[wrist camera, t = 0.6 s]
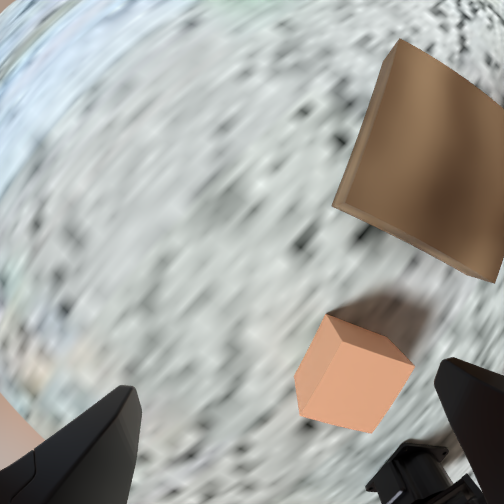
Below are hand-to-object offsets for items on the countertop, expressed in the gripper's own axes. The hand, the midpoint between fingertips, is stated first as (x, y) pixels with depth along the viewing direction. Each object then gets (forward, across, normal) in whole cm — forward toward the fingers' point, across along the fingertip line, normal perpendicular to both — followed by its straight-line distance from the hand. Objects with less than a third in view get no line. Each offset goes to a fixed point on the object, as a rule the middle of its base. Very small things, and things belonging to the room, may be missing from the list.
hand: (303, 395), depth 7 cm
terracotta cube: (+11, -6, +7) cm, 14 cm away
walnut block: (+12, -12, -7) cm, 19 cm away
